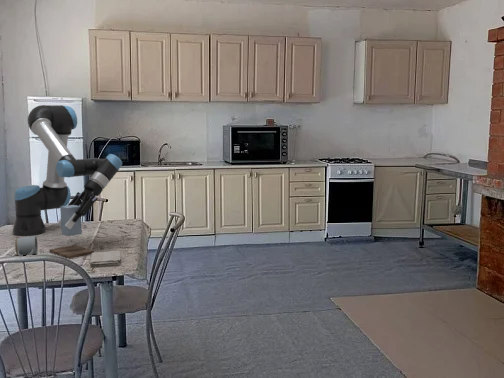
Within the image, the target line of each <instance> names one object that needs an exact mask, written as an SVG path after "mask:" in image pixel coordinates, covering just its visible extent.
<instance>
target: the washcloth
mask: <svg viewBox="0 0 504 378" xmlns="http://www.w3.org/2000/svg"><path fill="white" fill-rule="evenodd" d="M120 264H121V251H120V250H111V251H110V250H109V251H94V253H91V254H90V259H89V267H90V268H105V267H109V268H110V267H117V266H120Z"/></svg>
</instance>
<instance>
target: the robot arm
mask: <svg viewBox="0 0 504 378" xmlns="http://www.w3.org/2000/svg"><path fill="white" fill-rule="evenodd" d="M27 124H28V127H29V129H30V131H31V132H32V133H33V134H34V135H35V136H37V137H38V138H39V139H40V141H41V142H42V144H43V145H44V147H45V148H46V149H47V151H48V155H47V164H46V165H47V166H46V177H45V178H46V179H45V180H44V181H43V182H42V187H40V185H37V184H32V185H25V186H21V187H18V188H16V190H15V191H14V207H15V221H14V224H13V228H12V234H13V235H14V236H20V237H21V236H22V237H28V236H37V235H41V234H44V233H45V232H46V231H47V230H46V225H45V223H44V220H43V218H42V211H47V210H56V209H57V210H60V207H61V206H68V205H76V206H80V207H79V209H78V211H76V212H75V213H76V214H75V213H74V214H73V216H72V217H71V218H70V220H69V221H68V222H67V223H66V225H65V226H66V227H67V228H68V229H71V228H72V227H73V225H74V224H75V223H76V221H77V220H78V219H79V218H80V217H81V218H82V217H85V216H86V215H87V214H88V212H89V211H90V209H92V207H93V206H94V203H96V201H98V197H99V196H100V195H101V193H102V192H103V190H104V189H105V188H106V187H107V186H108V184H109V183H110V181H111V180H113V178H114V177H115V175H116V174H117V173H118V172H119V170H120V169H121V167H122V166H123V161H122V160H121V159H120V157H119V156H117V155H115V154H114V153H113V154H112V153H109V154H107V156H105V158H99V157H98V158H97V157H90V158H89V157H88V158H82V159H78V158H77V159H76V158H75V157H74V155H73V154H72V153H71V151H70V149H69V148H68V140H69V139H68V137H69V136H71V135H72V130H74V129H77V125H78V117H77V113H76V111H75V109H73V107H72V106H69V105H60V104H59V105H57V104H56V105H55V104H54V105H53V104H50V105H47V104H40V105H37V106H35V107H34V108H32V109H31V111H29V114H28V116H27ZM85 176H90V178H89V179H88V180H87V181H86V183H85V184H84V186H83V188H84V190H83V191H81V192H79V191H78V192H76V194H75V196H74V197H73V198H72V200H71V197H72V196H71V189H70V187H69V186H68V185H67V182H65V178H74V177H85ZM56 225H58V226H59V227H61V218H59V220H58V221H57V223H56Z"/></svg>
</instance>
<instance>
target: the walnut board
mask: <svg viewBox="0 0 504 378" xmlns="http://www.w3.org/2000/svg"><path fill="white" fill-rule="evenodd" d="M48 252H49V253H50V254H53V255H56V254H57V255H56V256H59V257H62V258H64V257H65V259H67V258H69V259H68V260H71V259H75V257H76V258H79V257H80V258H81V257H85V256H91V253H94V252H95V250H94V249H90V248H87V247H84V246H82V245H81V246H80V245H78V244H73V245H65V246H61V247H57V248H56V247H55V248H51V249H49V251H48ZM84 255H85V256H84Z"/></svg>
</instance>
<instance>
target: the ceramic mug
mask: <svg viewBox="0 0 504 378" xmlns="http://www.w3.org/2000/svg"><path fill="white" fill-rule="evenodd" d="M14 242H15V243H14V247H15V248H14V249H15V253H16V254H17V255H18V257H19V256H23V255H26V254H27V255H32V256H33V255H37V254H38V250H39V246H38V244H39V243H38V238H37V235H29V236H22V237H18V238H16V239H15V241H14Z"/></svg>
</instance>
